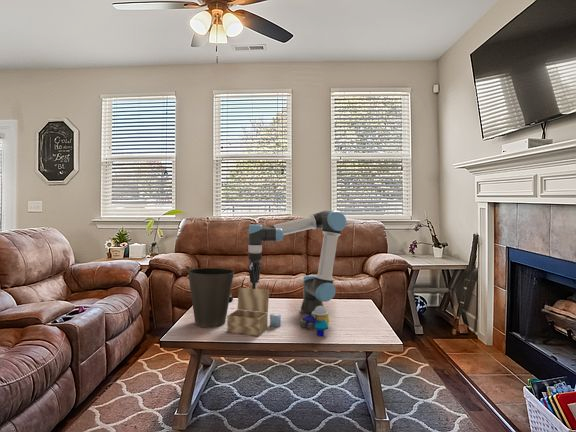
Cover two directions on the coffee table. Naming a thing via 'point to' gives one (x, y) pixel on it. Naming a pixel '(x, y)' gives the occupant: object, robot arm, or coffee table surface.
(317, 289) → the robot arm
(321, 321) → the toy
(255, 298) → the lid
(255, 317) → the box
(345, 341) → the coffee table surface
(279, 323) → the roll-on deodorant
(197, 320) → the waste basket
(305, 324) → the toy
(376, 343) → the coffee table surface
